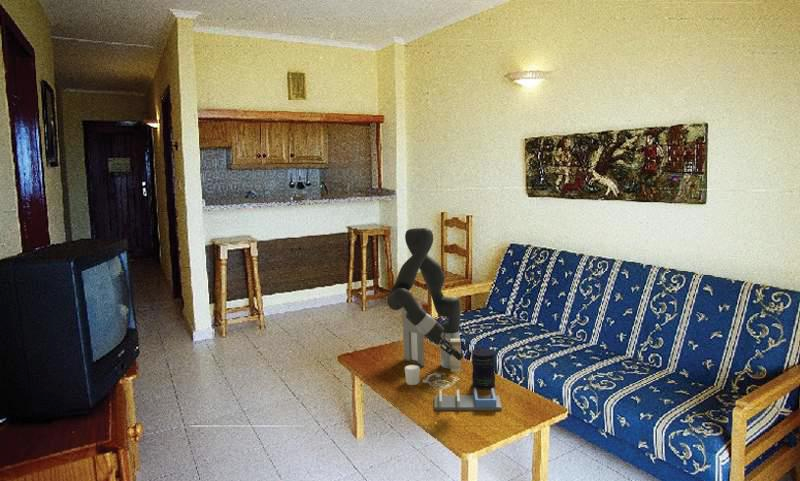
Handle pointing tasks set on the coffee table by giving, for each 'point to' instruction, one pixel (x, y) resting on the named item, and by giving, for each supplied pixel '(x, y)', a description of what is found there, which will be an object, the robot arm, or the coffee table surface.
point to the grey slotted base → (467, 401)
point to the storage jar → (483, 368)
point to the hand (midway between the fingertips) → (460, 356)
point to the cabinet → (412, 340)
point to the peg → (454, 361)
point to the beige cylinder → (412, 374)
